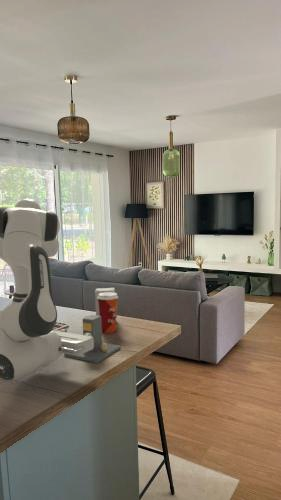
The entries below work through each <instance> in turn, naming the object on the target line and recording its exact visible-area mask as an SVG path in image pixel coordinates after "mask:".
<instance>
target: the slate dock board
mask: <svg viewBox="0 0 281 500" xmlns="http://www.w3.org/2000/svg"><path fill="white" fill-rule="evenodd" d="M119 350H121V345H118V344H113V343H108V342H107V343H106V342H104V337H103V336H102V344H101V349H99V350H97V351H96V352H94V353H92V352H86V353H83V354H80V355H71V354H65V353H63V355H64V357H66V358H72V359H77V360H80V361H81V360H82V361H87V362H91V363H95V364H98V363H99V362H101V361H103V360H104V359H106V358H108V357H109V356H111V355H112V354H114V353H115V352H118V351H119Z"/></svg>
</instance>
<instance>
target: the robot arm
mask: <svg viewBox="0 0 281 500" xmlns="http://www.w3.org/2000/svg"><path fill="white" fill-rule="evenodd" d="M60 225H61V224H60V219H59V216H58V214H56V213H55V212H53V211H51V210H48V209H47V210H43V209H42V208H41V206H40V204H39V203H38V202H37V201H36V200H33V199H29V198H24V199H21V200H19V201H18V202H17V203H16V204H15V206H14V207H7V206H0V259H1V260H2V261H4V262H5V264H7V266H9V268H10V269H11V271H12V273H13V274H12V275H13V278H14V280H13V281H14V287H15V289H14V290H15V291H14V293H11V294H10V295H11V296H10V297H12V301H11V302H9V303H8V304H7V305H6V306H5V307H4V308H3V309H2V310H0V379H2V380H6V381H15V380H19V379H21V378H24V377H26V376H28V375H30V374H32V373H35V372H36V371H38V369H40V368H44V367H45V366H48V365H50V364H53V363H54V362H56V361H58V360H59V359H60V358H61V357H62V355H63V354H64V353H65V354H71V355H80V354H83V353H86V352H88V351H90V350H92V349H93V348H94V339H93V337H92V336H91V333H85V334H84V335H83V334H79V333H72V332H68V330H67V329H64V328H61V329H59V330H58V329H57V330H54V329H55V326H56V325H57V320H58V310H57V307H56V303H55V300H54V293H53V285H52V284H53V283H52V273H51V265H50V259H49V258H51V257H55V256H56V255H57V253H58V251H59V248H60V243H59V240H58V238H57V236H58V235H59V232H60V229H61V226H60Z"/></svg>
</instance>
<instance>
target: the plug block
mask: <svg viewBox="0 0 281 500" xmlns="http://www.w3.org/2000/svg"><path fill="white" fill-rule="evenodd" d="M85 333H91V336H92V337H93V339H94V348H93V349H92V350H90V351H88V352H92V353H94V352H96V351H97V350H99V349H101V344H102V337H103V335H102V334H103V332H102V325H101V316H96V314H95V315H94V314H91V315H88V316H85V317H83V318H82V335H84V334H85Z"/></svg>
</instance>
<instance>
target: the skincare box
mask: <svg viewBox="0 0 281 500" xmlns="http://www.w3.org/2000/svg"><path fill="white" fill-rule="evenodd" d="M104 292H114V293H116V289H115V287H106V288H105V287H102V288H101V287H100V288H95V290H94V303H95V305H94V306H95V315H96V316H100V315H99V302H98V298H97V297H98V295H99V294H100V293H104ZM117 320H118V319H116V321H117Z"/></svg>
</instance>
